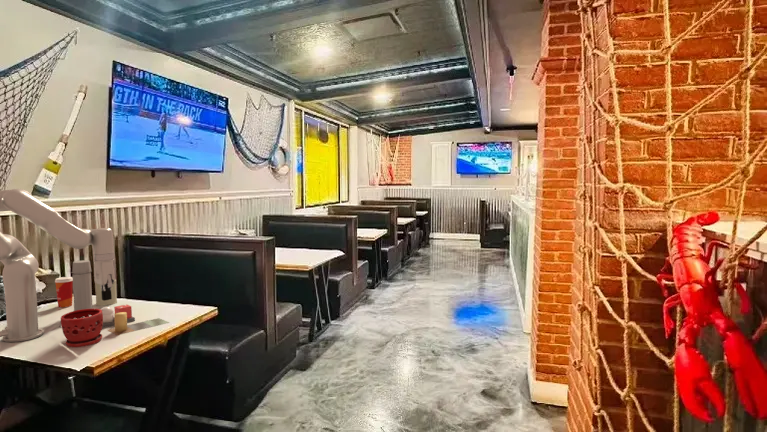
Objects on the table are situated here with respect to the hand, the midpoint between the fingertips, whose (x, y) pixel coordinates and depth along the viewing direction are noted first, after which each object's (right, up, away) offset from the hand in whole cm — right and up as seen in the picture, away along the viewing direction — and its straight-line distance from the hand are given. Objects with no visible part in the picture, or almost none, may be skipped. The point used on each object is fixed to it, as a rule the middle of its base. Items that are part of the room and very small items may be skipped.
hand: (106, 299), depth 188 cm
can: (-23, -9, +36) cm, 44 cm away
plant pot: (+4, -13, -21) cm, 25 cm away
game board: (+15, -12, -1) cm, 19 cm away
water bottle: (-22, -10, +17) cm, 30 cm away
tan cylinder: (+10, -11, -7) cm, 17 cm away
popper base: (+1, -11, +3) cm, 12 cm away
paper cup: (-40, -9, +31) cm, 52 cm away
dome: (-1, -10, 0) cm, 10 cm away
